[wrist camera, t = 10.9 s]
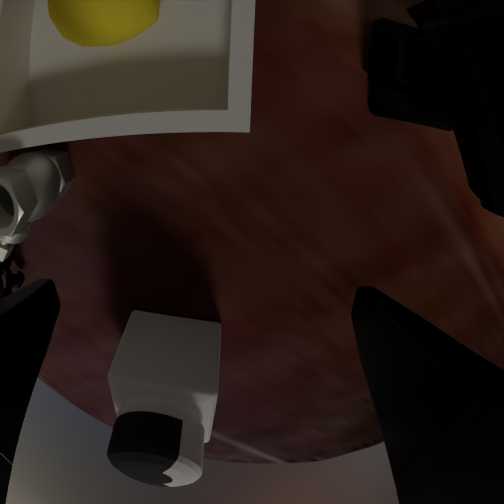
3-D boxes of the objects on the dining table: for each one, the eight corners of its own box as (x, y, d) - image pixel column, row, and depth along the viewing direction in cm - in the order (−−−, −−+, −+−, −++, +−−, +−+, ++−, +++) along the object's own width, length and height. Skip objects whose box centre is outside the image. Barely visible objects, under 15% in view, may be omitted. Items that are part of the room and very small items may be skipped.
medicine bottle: (136, 366, 27) (107, 482, 16) (132, 307, 24) (83, 439, 13) (213, 378, 28) (207, 499, 17) (222, 320, 24) (215, 464, 14)
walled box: (257, -86, 11) (261, -121, 7) (247, 123, 18) (249, 132, 14) (42, -48, 10) (8, -64, 6) (29, 139, 17) (-11, 154, 13)
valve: (39, 120, 16) (-16, 235, 20) (-24, 139, 11) (-61, 274, 14) (102, 180, 19) (34, 284, 22) (53, 219, 13) (-4, 333, 17)
